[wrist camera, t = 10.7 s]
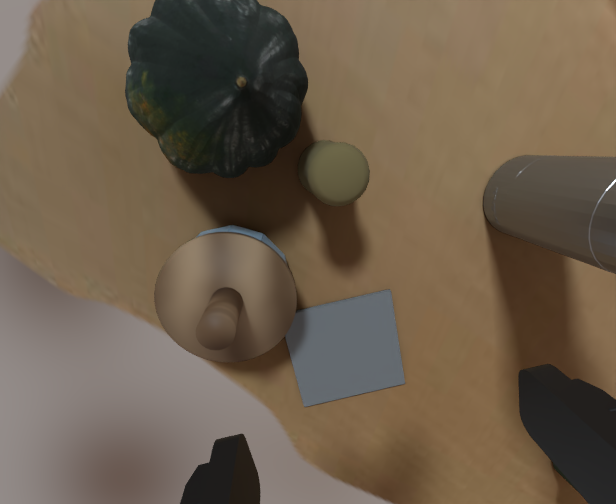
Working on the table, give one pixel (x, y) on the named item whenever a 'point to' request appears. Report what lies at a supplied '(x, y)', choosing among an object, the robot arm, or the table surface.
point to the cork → (334, 172)
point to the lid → (225, 297)
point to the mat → (345, 348)
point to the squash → (216, 83)
